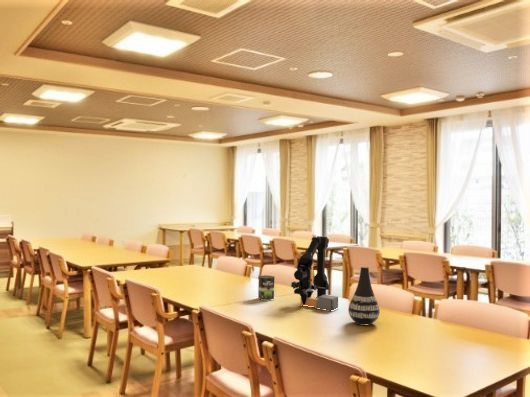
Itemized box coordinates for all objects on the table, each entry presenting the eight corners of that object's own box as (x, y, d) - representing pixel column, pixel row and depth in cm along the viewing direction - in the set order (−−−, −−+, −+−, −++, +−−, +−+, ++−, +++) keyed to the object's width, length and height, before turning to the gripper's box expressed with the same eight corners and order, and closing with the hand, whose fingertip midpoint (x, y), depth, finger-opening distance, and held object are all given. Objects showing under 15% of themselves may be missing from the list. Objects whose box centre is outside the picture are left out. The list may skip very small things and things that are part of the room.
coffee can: (276, 300, 302) (276, 277, 302) (260, 301, 300) (260, 278, 299) (271, 296, 312) (272, 275, 312) (256, 297, 310) (256, 275, 309)
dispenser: (316, 309, 281) (316, 296, 281) (322, 306, 287) (322, 294, 287) (332, 311, 275) (332, 298, 275) (337, 308, 282) (338, 296, 282)
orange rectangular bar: (300, 305, 289) (300, 297, 289) (302, 304, 292) (303, 296, 292) (331, 310, 278) (331, 301, 278) (333, 309, 281) (333, 300, 281)
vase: (356, 328, 241) (357, 269, 241) (343, 320, 256) (344, 265, 256) (385, 327, 245) (386, 268, 245) (370, 319, 261) (371, 264, 260)
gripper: (301, 274, 301) (300, 299, 301) (286, 278, 285) (285, 304, 285) (317, 276, 295) (316, 301, 295) (303, 280, 279) (302, 307, 279)
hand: (305, 303), depth 289 cm, fingers closed on orange rectangular bar, 3 cm apart
